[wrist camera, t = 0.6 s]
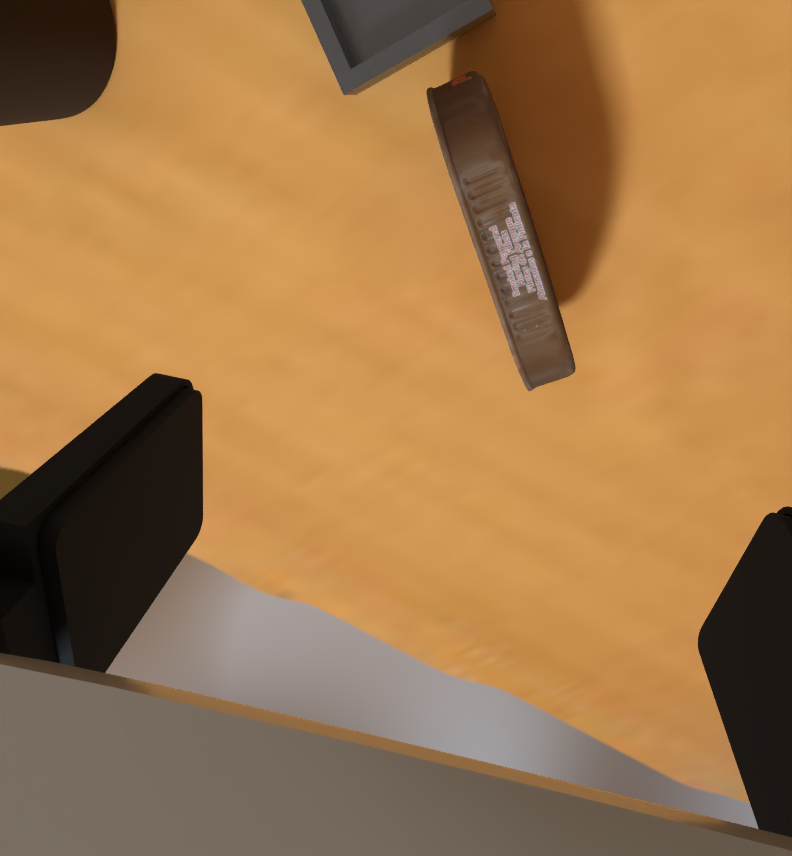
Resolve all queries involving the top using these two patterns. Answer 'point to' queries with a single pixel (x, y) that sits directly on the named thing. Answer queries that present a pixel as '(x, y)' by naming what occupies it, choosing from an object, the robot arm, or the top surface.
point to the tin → (501, 227)
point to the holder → (387, 33)
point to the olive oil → (53, 57)
